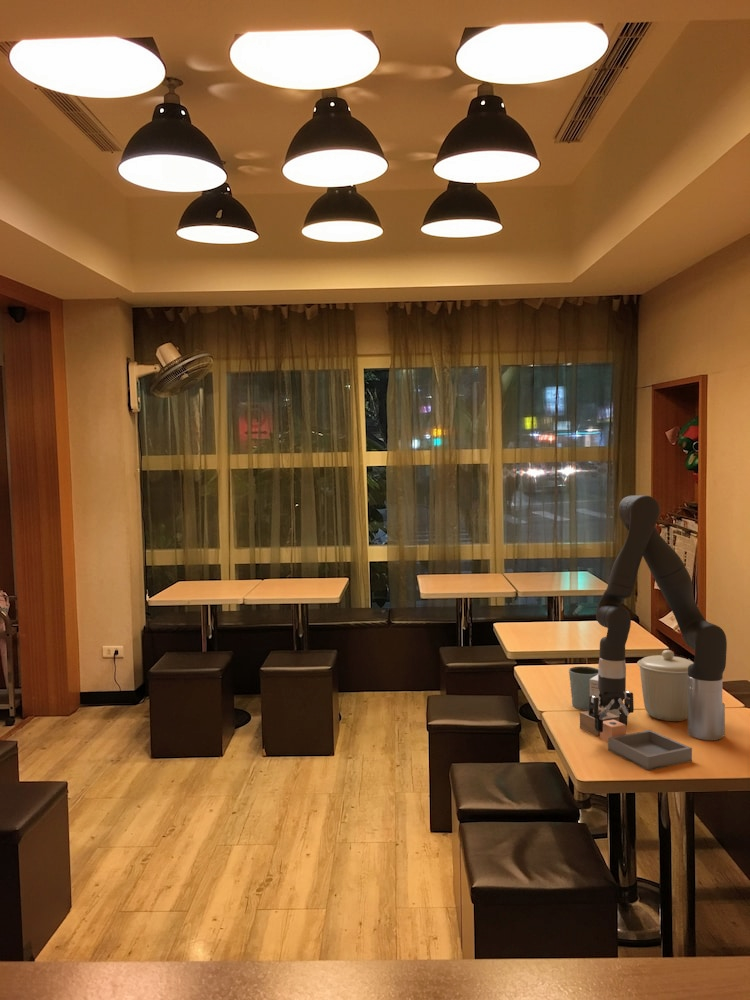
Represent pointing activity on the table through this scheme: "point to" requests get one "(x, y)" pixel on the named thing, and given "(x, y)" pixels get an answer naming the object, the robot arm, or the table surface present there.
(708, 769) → the table surface
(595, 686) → the supplement box
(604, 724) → the terracotta block
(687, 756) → the charcoal tray
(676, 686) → the canister
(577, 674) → the teal cup
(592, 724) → the walnut block
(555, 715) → the table surface
